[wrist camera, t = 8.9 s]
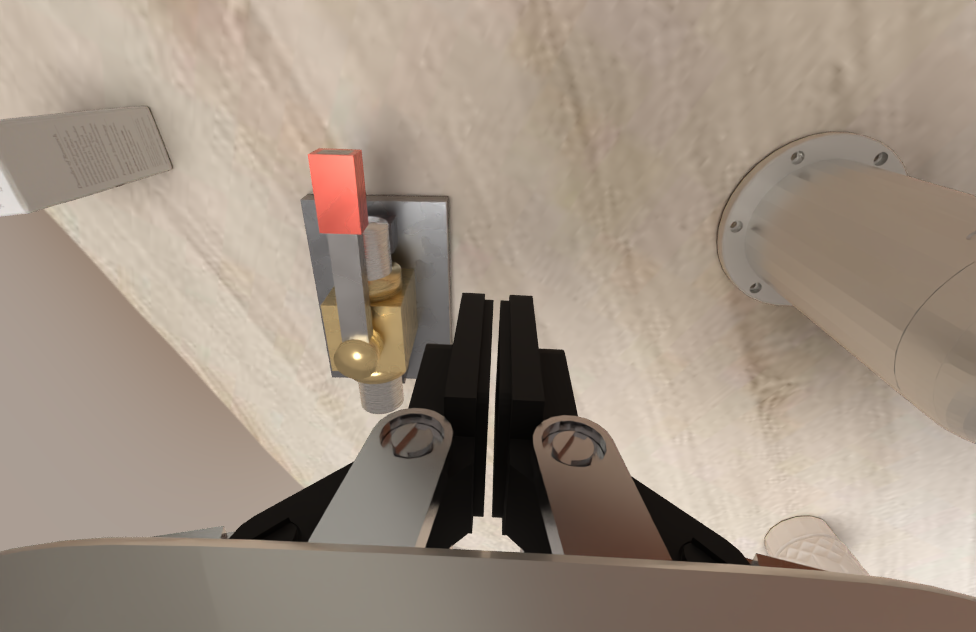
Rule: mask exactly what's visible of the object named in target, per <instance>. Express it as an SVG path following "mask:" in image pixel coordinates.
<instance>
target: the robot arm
mask: <svg viewBox="0 0 976 632" xmlns="http://www.w3.org/2000/svg"><path fill="white" fill-rule="evenodd" d="M792 155H793V156H792ZM791 156H792V158H791ZM733 222H734V223H733ZM732 223H733V225H731V224H732ZM717 246H718V256H719V259H720V262H721V265H722V268H723V270H724V272H725V273H726V275H727V276H728V278H729V279H730V281H731V282H732V283H733V284H734V285H735V286H736V287H737V288H738V289H739V290H741V291H742V292H743V293H744V294H746V295H747V296H749V297H750V298H753V299H755V300H758V301H760V302H762V303H766V304H771V305H777V306H794V307H796V308H797V309H798V310H799V311H800V312H802V313H803V314H804V315H805V316H806V317H808V318H809V319H810V320H811V321H812V322H814V323H815V324H816V325H817V326H818V327H820V328H821V329H822V330H823V331H825V332H826V333H827V334H828V335H829V336H831V337H832V338H833V339H834V340H835V341H837V342H838V343H839V344H840V345H841V346H843V347H844V348H845V349H846V350H847V351H849V352H850V353H851V354H852V355H853V356H855V357H856V358H857V359H858V360H859V361H861V362H862V363H863V364H864V365H865V366H867V367H868V368H869V369H870V370H871V371H873V372H874V373H875V374H876V375H877V376H879V377H880V378H881V379H882V380H883V381H885V382H886V383H887V384H888V385H889V386H891V387H892V388H893V389H894V390H896V391H897V392H898V393H899V394H900V395H902V396H903V397H904V398H905V399H907V400H908V401H910V402H911V403H912V404H913V405H914V406H915V407H917V408H918V409H919V410H920V411H922V412H923V413H924V414H925V415H926V416H928V417H929V418H930V419H931V420H933V421H934V422H936V423H937V424H938V425H940V426H941V427H943V428H944V429H946V430H948V431H949V432H951V433H953V434H955V435H957V436H958V437H960V438H963V439H965V440H967V441H970V442H972V443H975V444H976V196H974V195H971V194H967V193H964V192H960V191H957V190H953V189H950V188H947V187H943V186H940V185H936V184H933V183H929V182H926V181H923V180H919V179H916V178H912V177H909V176H908V175H907V172H906V170H905V167H904V165H903V162H902V161H901V160H900V158H899V157H898V156H897V155H896V153H895V152H894V151H893V150H892V149H890V148H889V147H888V146H886V145H885V144H883V143H882V142H881V141H878V140H875V139H873V138H870V137H867V136H865V135H859V134H854V133H849V132H827V133H821V134H816V135H810V136H808V137H805V138H802V139H799V140H797V141H794V142H791V143H790V144H788V145H786V146H784V147H782V148H780V149H779V150H777V151H775V152H773V153H772V154H771V155H769V156H768V157H767V158H765V159H764V160H763V161H761V162H760V163H759V164H757V166H756V167H755V168H754V169H753V170H752V171H751V172H750V173H749V174H748V175H747V176H746V177H745V178H744V179H743V180H742V181H741V183H740V184H739V186H738V187H737V188H736V190H735V191H734V192H733V194H732V196H731V198H730V200H729V201H728V203H727V205H726V207H725V209H724V212H723V215H722V218H721V221H720V225H719V230H718V239H717ZM492 321H493V300H485V294H478V293H462V298H461V304H460V309H459V315H458V320H457V326H456V332H455V337H454V343H453V345H451V344H430V343H427V344H426V346H425V350H424V353H423V357H422V361H421V364H420V368H419V371H418V375H417V379H416V382H415V386H414V390H413V393H412V397H411V401H410V404H409V408H408V409H403V410H399V411H396V412H394V413H391V414H389V415H387V416H386V417H384V418H383V419H381V420H380V421H379V422H378V423H377V425H376V426H375V427H374V428H373V430H372V431H371V433H370V435H369V437H368V438H367V440H366V442H365V444H364V445H363V447H362V449H361V451H360V452H359V454H358V456H357V457H356V459H355V461H354V462H352V463H350V464H348V465H347V466H345V467H343V468H341V469H339V470H337V471H336V472H334V473H332V474H330V475H328V476H327V477H325V478H323V479H321V480H319V481H317V482H316V483H314V484H312V485H310V486H308V487H307V488H305V489H303V490H301V491H299V492H298V493H296V494H294V495H292V496H290V497H288V498H287V499H285V500H283V501H281V502H279V503H277V504H276V505H274V506H272V507H270V508H268V509H266V510H265V511H263V512H261V513H259V514H257V515H256V516H254V517H253V518H251V519H250V520H248V521H247V522H245V523H244V524H242V525H241V526H240V527H239V528H238V529H237V530H236V532H230V533H226V530H225V527H224V526H221V527H215V528H208V529H202V530H194V531H188V532H181V533H174V534H167V535H161V536H154V537H107V538H106V537H105V538H91V539H78V540H65V541H57V542H51V543H44V544H38V545H31V546H25V547H18V548H12V549H9V550H4V551H0V632H976V597H973V596H969V595H965V594H961V593H957V592H954V591H950V590H946V589H942V588H938V587H934V586H930V585H925V584H919V583H913V582H908V581H902V580H896V579H891V578H885V577H876V576H866V575H856V574H847V573H839V572H830V571H826V570H822V569H818V568H814V567H810V566H806V565H802V564H797V563H793V562H789V561H785V560H781V559H777V558H773V557H769V556H765V555H761V554H757V553H756V555H755V557H754V559H753V560H752V559H748V558H745V557H744V556H743V554H742V553H741V552H740V551H739V550H738V549H737V548H736V547H734V546H733V545H732V544H731V543H729V542H728V541H727V540H726V539H724V538H723V537H721V536H720V535H718V534H717V533H715V532H714V531H712V530H711V529H709V528H708V527H706V526H705V525H703V524H702V523H700V522H699V521H697V520H696V519H694V518H693V517H691V516H690V515H688V514H687V513H685V512H684V511H682V510H681V509H679V508H678V507H676V506H675V505H673V504H672V503H670V502H669V501H667V500H666V499H664V498H663V497H661V496H660V495H658V494H657V493H655V492H654V491H652V490H651V489H649V488H648V487H646V486H645V485H643V484H642V483H640V482H639V481H637V480H636V479H634V478H633V477H631V475H630V473H629V471H628V469H627V467H626V465H625V463H624V461H623V459H622V457H621V455H620V453H619V451H618V449H617V447H616V445H615V443H614V441H613V439H612V438H611V436H610V435H609V434H608V432H607V431H606V430H605V429H603V428H602V427H601V426H600V425H598V424H596V423H594V422H592V421H590V420H588V419H585V418H581V417H578V414H577V409H576V404H575V400H574V395H573V390H572V385H571V380H570V375H569V370H568V366H567V361H566V356H565V352H564V350H557V349H539V347H538V339H537V330H536V322H535V314H534V305H533V297H532V296H521V295H510V297H509V301H501V303H500V321H499V339H498V357H497V375H496V394H495V425H494V462H493V500H492V517H498V518H502V535H507V536H508V537H509V538H510V539H511V540H513V541H514V542H515V543H516V544H517V545H518V546H519V547H520V548H521V550H520V552H501V551H481V550H461V549H453V545H454V544H455V543H456V542H458V541H459V540H460V539H462V538H463V537H464V536H465V535H467V534H468V533H472V526H473V516H478V517H483V516H484V495H485V474H486V452H487V431H488V410H489V388H490V366H491V344H492Z"/></svg>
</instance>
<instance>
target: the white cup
mask: <svg viewBox="0 0 976 632" xmlns="http://www.w3.org/2000/svg"><path fill="white" fill-rule="evenodd" d="M765 547H766V549H767V551H768V553H769V555H770V557H773V558H777V559H781V560H785V561H789V562H793V563H797V564H802V565H806V566H810V567H814V568H818V569H822V570H826V571H830V572H839V573H847V574H856V575H866V576H870V575H869V574H868V572H867V571H866V570H865V569H864V568H863V567H862V566H861V564H860V563H859V561H858V560H857V559H856V558H855V556H854V555H853V554H852V553H851V552H850V551H849V549H848V548H847V547H846V545H844V544H843V543H842V542H841V541H840V540H839V539H838V537H837V536H836V535H835V533H834V532H833V531H832V530H831V528H830V527H829V526H828V525H827V524H826V523H825V521H824V520H822V519H819V518H815V517H812V516H801V517H794V518H791V519H788V520H785V521H782V522H780V523H779V524H777V525H776V526H775V527H773V528H772V529H771V530H770V531H769V533H768V534H767V536H766V537H765Z"/></svg>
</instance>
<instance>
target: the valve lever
mask: <svg viewBox="0 0 976 632" xmlns="http://www.w3.org/2000/svg"><path fill="white" fill-rule="evenodd" d="M308 159H309V165H310V172H311V179H312V186H313V192H314V199H315V206H316V213H317V219H318V226H319V233H327V237H328V244H329V252H330V259H331V266H332V273H333V280H334V287H335V294H336V301H337V308H338V315H339V323H340V330H341V337H342V341H341V343H340V344H339V346H338V348H337V350H336V352H335V354H334V364H335V366H336V368H337V369H338V371H339V372H340V373H342V374H343V375H344V376H346V377H349V378H352V379H364V378H367V377H369V376H371V375H372V374H373V373H374V372H375V370H376V367H377V365H378V362H379V359H380V357H381V354H382V351H383V348H384V343H383V339H382V337H381V336H380V334H379V333H378V332H377V331H375V330H374V329H373V326H372V316H371V307H370V297H369V287H368V277H367V268H366V258H365V248H364V238H363V232H364V230H365V229H366V227H367V226H368V225H369V223H368V212H367V202H366V192H365V181H364V171H363V160H362V150H352V149H321V148H319V149H317V150H315V151H313V152H311V153H310V154H308Z"/></svg>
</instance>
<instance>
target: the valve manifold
mask: <svg viewBox="0 0 976 632" xmlns="http://www.w3.org/2000/svg"><path fill="white" fill-rule="evenodd" d="M366 202H367V212H368V223H369V225H368V226H367V227H366V229H365V230H364V232H363V238H364V248H365V258H366V268H367V277H368V287H369V297H370V307H371V316H372V326H373V329H374V330H375V331H377V332H378V333H379V334H380V336H381V337H382V339H383V343H384V348H383V351H382V354H381V357H380V359H379V362H378V365H377V367H376V370H375V372H374V373H373V374H372V375H371V376H369V377H367V378H364V379H354V380H356V381H358V384H359V391H360V397H361V404H362V407H363V408H364V410H366V411H367V412H370V413H373V414H385V413H389V412H392V411H394V410H396V409H397V408H399V407H400V406H401V404H402V403H403V401H404V395H403V384H402V383H405V381H406V378H411V379H417V375H418V371H419V368H420V364H421V361H422V357H423V353H424V350H425V346H426V344H427V343H430V344H451V345H452V332H451V294H450V256H449V218H448V196H390V195H366ZM301 206H302V211H303V217H304V222H305V228H306V234H307V239H308V245H309V250H310V256H311V262H312V267H313V273H314V278H315V284H316V290H317V295H318V301H319V306H320V312H321V318H322V323H323V329H324V334H325V340H326V346H327V351H328V357H329V362H330V368H331V374H332V377H346V376H344V375H343V374H342V373H340V372H339V371H338V369H337V368H336V366H335V364H334V354H335V352H336V350H337V348H338V346H339V344H340V343H341V341H342V337H341V330H340V323H339V315H338V308H337V301H336V294H335V287H334V280H333V273H332V266H331V259H330V252H329V244H328V237H327V233H319V226H318V219H317V213H316V206H315V199H314V194H307V195H306V196H305V197H303V198H302V199H301ZM347 378H349V377H347Z"/></svg>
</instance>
